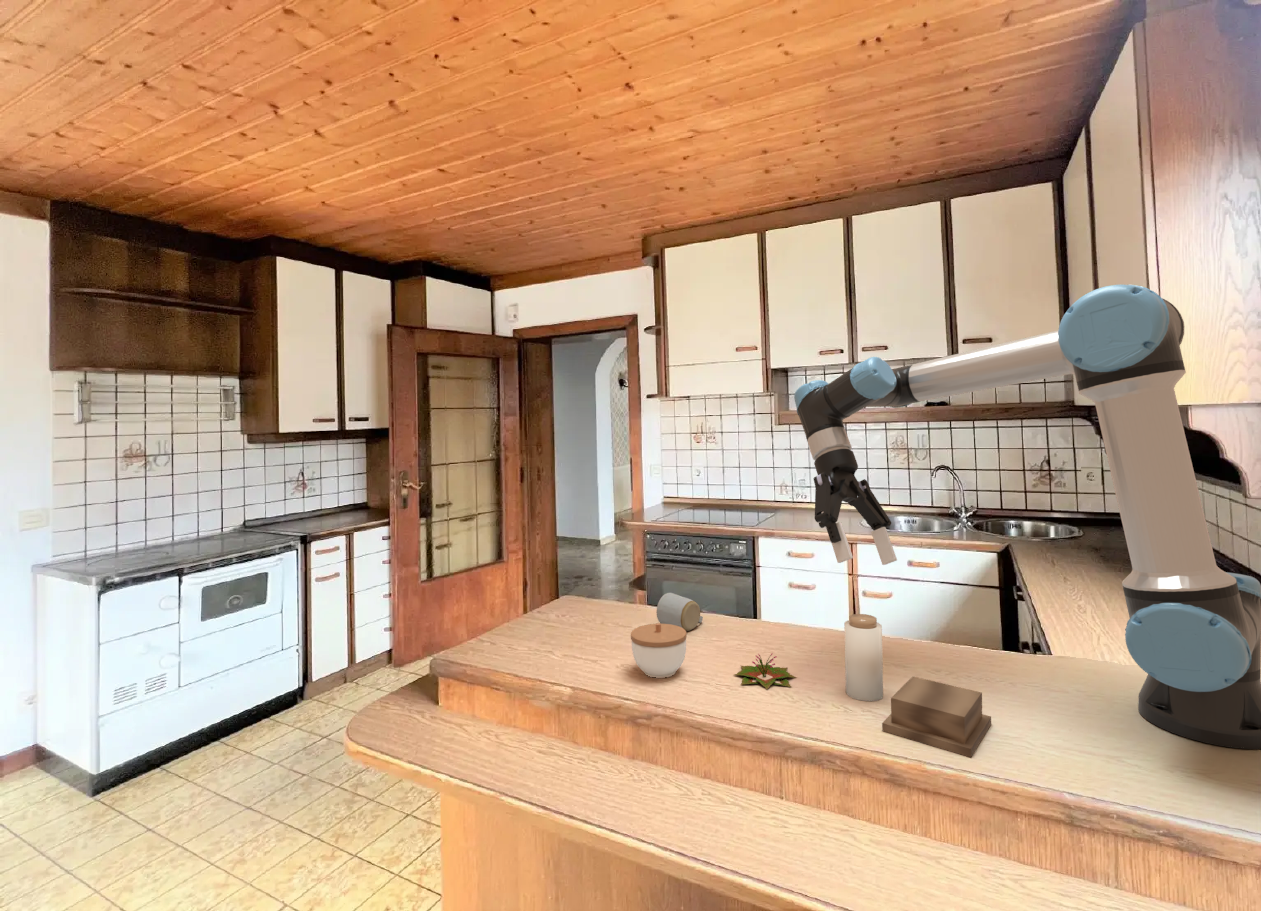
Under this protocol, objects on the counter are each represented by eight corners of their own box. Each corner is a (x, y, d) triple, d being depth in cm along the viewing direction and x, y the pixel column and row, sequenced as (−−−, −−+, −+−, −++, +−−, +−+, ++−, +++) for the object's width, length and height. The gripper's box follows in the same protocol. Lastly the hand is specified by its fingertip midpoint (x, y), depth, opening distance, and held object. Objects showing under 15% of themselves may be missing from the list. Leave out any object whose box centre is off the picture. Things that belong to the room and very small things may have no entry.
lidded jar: (658, 688, 110) (656, 637, 109) (620, 671, 118) (619, 624, 118) (699, 671, 117) (697, 623, 116) (661, 657, 125) (660, 611, 125)
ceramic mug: (683, 635, 137) (682, 601, 137) (655, 628, 143) (655, 595, 143) (711, 624, 145) (710, 592, 145) (684, 617, 151) (683, 587, 150)
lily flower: (732, 665, 120) (732, 642, 120) (795, 667, 118) (794, 644, 118) (731, 691, 109) (731, 666, 108) (801, 694, 106) (800, 669, 106)
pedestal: (991, 724, 93) (990, 691, 93) (971, 757, 84) (970, 721, 84) (908, 702, 101) (908, 672, 101) (882, 730, 92) (881, 698, 92)
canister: (888, 692, 105) (887, 616, 105) (875, 704, 101) (873, 625, 100) (854, 683, 109) (852, 610, 109) (840, 694, 105) (838, 619, 104)
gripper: (855, 471, 128) (889, 569, 119) (775, 455, 114) (807, 566, 105) (885, 455, 123) (924, 557, 114) (806, 437, 108) (843, 552, 99)
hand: (868, 561), depth 109 cm, fingers open, 13 cm apart
